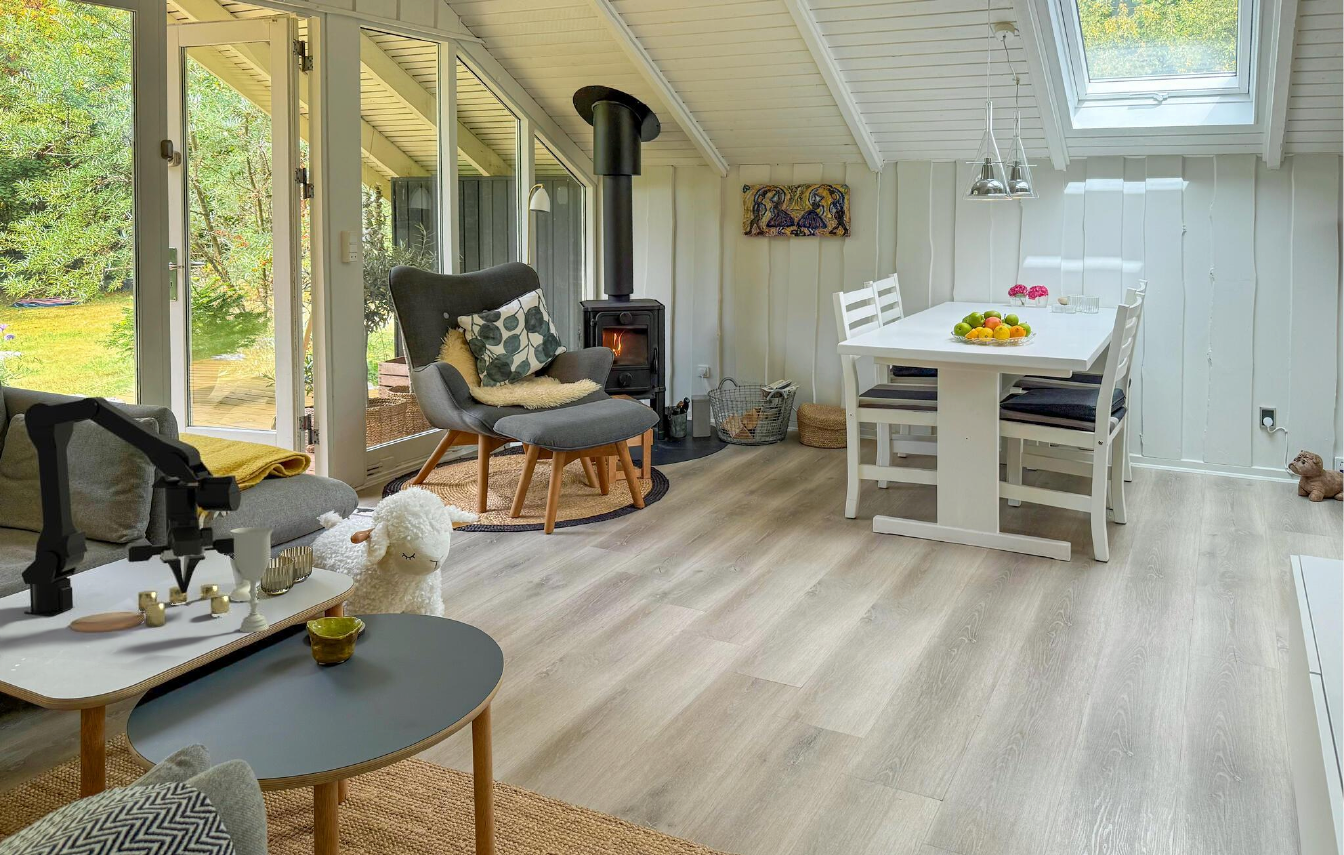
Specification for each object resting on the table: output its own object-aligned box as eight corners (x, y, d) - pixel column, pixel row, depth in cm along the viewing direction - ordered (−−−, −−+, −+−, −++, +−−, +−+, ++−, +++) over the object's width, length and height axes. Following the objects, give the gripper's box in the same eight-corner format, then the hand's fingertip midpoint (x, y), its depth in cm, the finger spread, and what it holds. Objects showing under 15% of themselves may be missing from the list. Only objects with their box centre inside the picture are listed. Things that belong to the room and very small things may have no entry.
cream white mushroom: (225, 605, 209) (224, 565, 208) (258, 600, 213) (257, 561, 212) (235, 611, 204) (234, 570, 204) (268, 606, 208) (267, 566, 207)
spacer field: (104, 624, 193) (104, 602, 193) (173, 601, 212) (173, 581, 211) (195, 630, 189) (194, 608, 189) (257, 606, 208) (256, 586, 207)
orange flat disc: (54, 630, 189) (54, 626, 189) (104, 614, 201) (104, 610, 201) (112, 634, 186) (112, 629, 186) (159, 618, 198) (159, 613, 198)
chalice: (282, 624, 194) (280, 527, 192) (264, 633, 187) (262, 533, 186) (244, 623, 194) (242, 526, 193) (225, 632, 187) (222, 532, 186)
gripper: (130, 521, 187) (133, 607, 188) (242, 513, 197) (244, 595, 198) (124, 513, 197) (126, 595, 198) (230, 506, 207) (232, 584, 208)
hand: (183, 593), depth 200 cm, fingers closed
